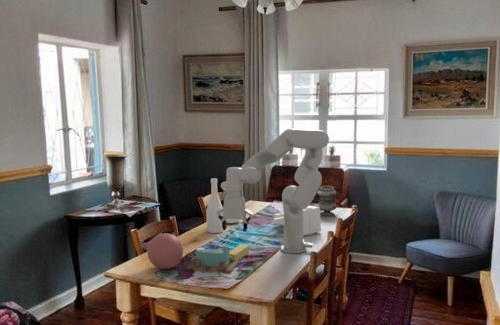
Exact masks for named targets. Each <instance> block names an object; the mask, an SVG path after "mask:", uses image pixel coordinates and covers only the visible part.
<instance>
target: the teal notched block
mask: <svg viewBox="0 0 500 325" xmlns="http://www.w3.org/2000/svg"><path fill="white" fill-rule="evenodd" d="M222 248H223V249H211V248H205V247H198V248H196V251H195V257H196V260H197V261H200V262H201V265H204V266H218V267H219V263H220V262H226V263H227V266H228V265H229V264H230V260H229V251H230V250H229V246H226V245H225V246H224V245H223V246H222Z"/></svg>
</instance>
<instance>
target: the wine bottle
mask: <svg viewBox="0 0 500 325" xmlns="http://www.w3.org/2000/svg"><path fill="white" fill-rule="evenodd" d="M210 185H211V187H210V188H211V189H210V190H211V191H210V192H211V193H210V198H209V200H208V204H207V207H206V211H205V213H206V214H205V215H206V231H207V232H208V233H209V234H220V233H223V232H224V230H223V228H222V221H221V220H220V219H219V217H218V215H217V213H216V212H217V211H219V210H221V209H223V205H222V202H221V198H220V196H219V193H218V178H216V177H214V178H210ZM221 215H222V216H223V212H222V213H221Z"/></svg>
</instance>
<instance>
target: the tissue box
mask: <svg viewBox="0 0 500 325" xmlns="http://www.w3.org/2000/svg"><path fill="white" fill-rule="evenodd" d="M320 213H321V210H320V207H317V206H314V205H313V206H312V205H309V206H308V207H307V208H305V209H303V237H304V236H310V235H313V234H314V233H315V234H316V233H319V232H321V231H322V229H321V228H322V225H321V224H322V223H321V216H320ZM280 223H281V224H284V211H283V212H279V213H273V219H272V224H280Z"/></svg>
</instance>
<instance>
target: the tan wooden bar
mask: <svg viewBox="0 0 500 325" xmlns="http://www.w3.org/2000/svg"><path fill="white" fill-rule="evenodd" d="M248 253H249V254H250V245H248V244H247V245H246V244H239V245H238V246H236V247H234V248H232V249H230V250H229V256H232V261H238V262H239V261H240V260H241V259H243V258H244V257H246V256H247V255H248ZM246 254H247V255H246ZM245 255H246V256H245ZM243 256H244V257H243ZM242 257H243V258H242ZM240 258H241V259H240ZM239 259H240V260H239Z"/></svg>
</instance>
